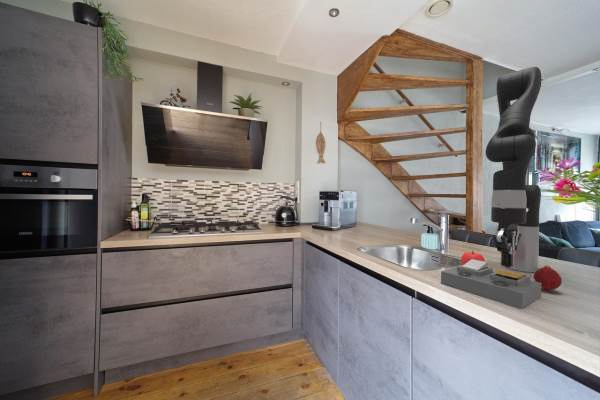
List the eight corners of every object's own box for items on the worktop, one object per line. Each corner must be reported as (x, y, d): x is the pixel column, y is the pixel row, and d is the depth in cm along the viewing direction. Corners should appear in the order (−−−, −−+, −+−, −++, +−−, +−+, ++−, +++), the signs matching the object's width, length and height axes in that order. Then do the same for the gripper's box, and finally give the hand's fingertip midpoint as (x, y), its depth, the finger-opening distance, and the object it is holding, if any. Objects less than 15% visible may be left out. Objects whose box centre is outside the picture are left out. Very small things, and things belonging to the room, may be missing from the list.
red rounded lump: (567, 295, 67) (568, 268, 67) (543, 293, 68) (544, 266, 68) (550, 287, 73) (550, 262, 73) (528, 286, 74) (529, 261, 74)
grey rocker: (472, 262, 80) (471, 258, 80) (487, 265, 76) (487, 262, 76) (462, 269, 76) (461, 266, 76) (477, 273, 73) (477, 269, 73)
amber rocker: (505, 274, 72) (505, 270, 72) (524, 278, 68) (524, 274, 68) (495, 273, 69) (496, 269, 69) (515, 277, 65) (515, 273, 65)
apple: (464, 273, 86) (464, 252, 86) (456, 267, 94) (457, 247, 94) (489, 276, 84) (490, 253, 84) (480, 269, 91) (480, 249, 91)
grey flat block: (462, 275, 83) (463, 261, 83) (541, 296, 66) (541, 278, 66) (440, 283, 76) (441, 267, 76) (522, 309, 59) (522, 288, 59)
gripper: (501, 205, 74) (500, 260, 74) (482, 206, 67) (480, 266, 67) (534, 206, 67) (532, 266, 67) (516, 207, 60) (515, 273, 60)
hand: (506, 266), depth 67 cm, fingers closed
